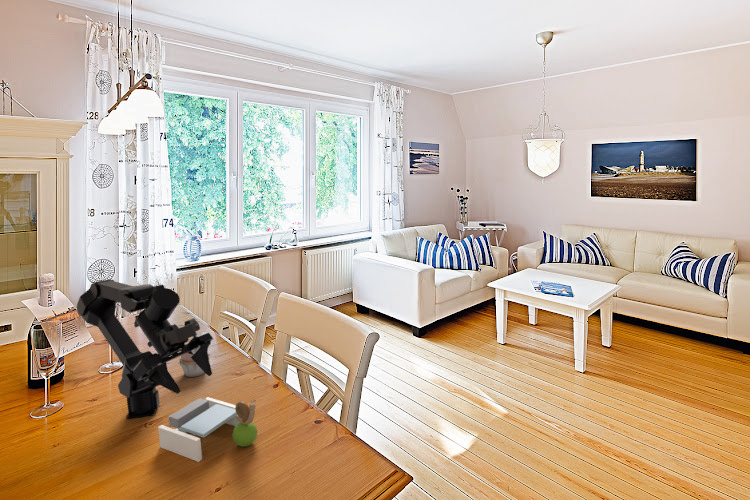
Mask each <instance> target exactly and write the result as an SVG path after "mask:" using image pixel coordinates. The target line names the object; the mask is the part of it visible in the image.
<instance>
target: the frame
mask: <svg viewBox="0 0 750 500" xmlns="http://www.w3.org/2000/svg"><path fill="white" fill-rule="evenodd" d="M204 400H208V401H209V408H211V407H212V406H214V405H215V404H219V405H222V406H226V407H229V408H232V409H235V407H236V404H233V403H229V402H226V401H222V400H219V399H217V398H216V399H215V398H212V397H208V396H207V397H206V398H204ZM238 423H240V422H239V421H238V420H237V418H236V416H234V417H233V418H231V419H230V420H228V421H227V422H226V423H225V424H227V425H230V426H233V427H235V426H236V425H237V424H238ZM157 429H158V438H159V447H160V448H162V449H164V450H167V451H170V452H172V453H175V454H177V455H180V456H182V457H185V458H188V459H190V460H192V461H195V462H197V463H198V462H201V461H202V460H203V453H202V443H201V438H200V437H199V436H198V437H197V436H196V435H195V436H194V435H193V434H188V433H187V432H186V431H183V430H181V428H180V429H177V428H173V427H170V426H166V425H163V424H161V425H159V426H158V427H157Z"/></svg>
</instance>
